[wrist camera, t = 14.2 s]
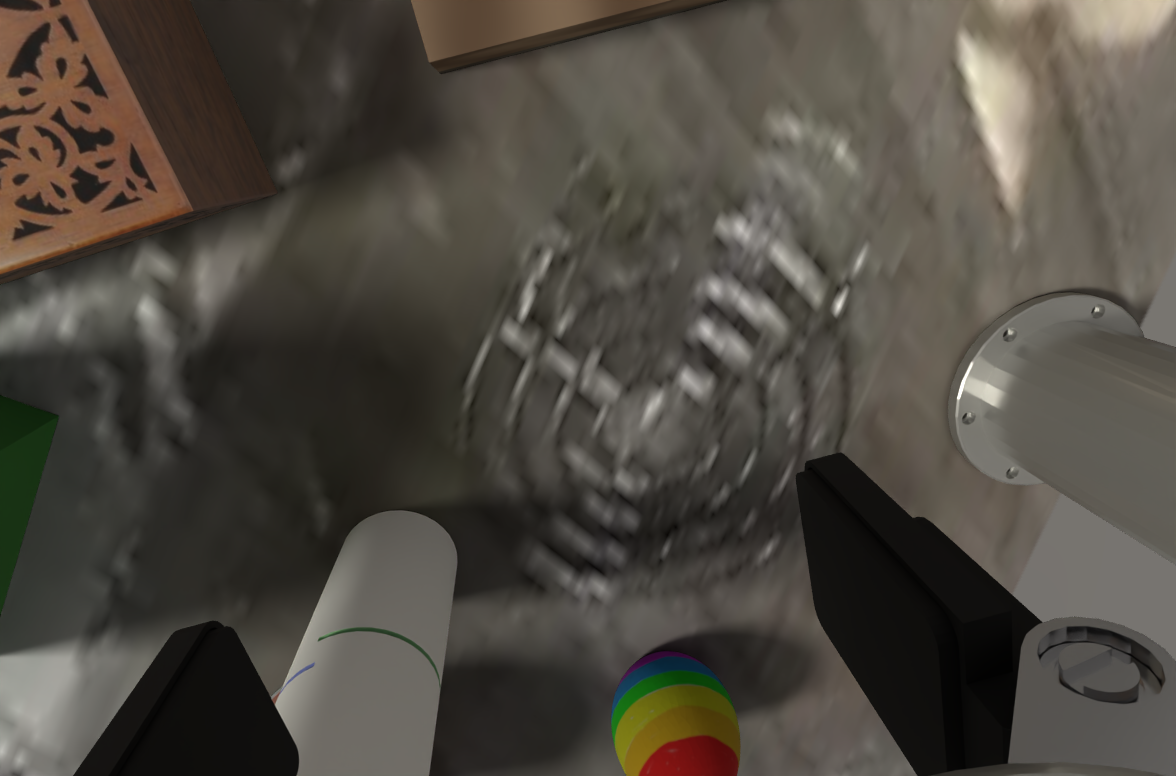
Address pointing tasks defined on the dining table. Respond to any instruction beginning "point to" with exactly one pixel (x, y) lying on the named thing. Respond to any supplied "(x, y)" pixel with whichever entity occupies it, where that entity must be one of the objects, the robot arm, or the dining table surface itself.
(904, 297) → the dining table surface
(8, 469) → the hardback book
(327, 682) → the cylindrical container
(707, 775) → the decorative egg
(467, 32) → the block
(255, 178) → the tissue box cover
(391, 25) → the dining table surface
